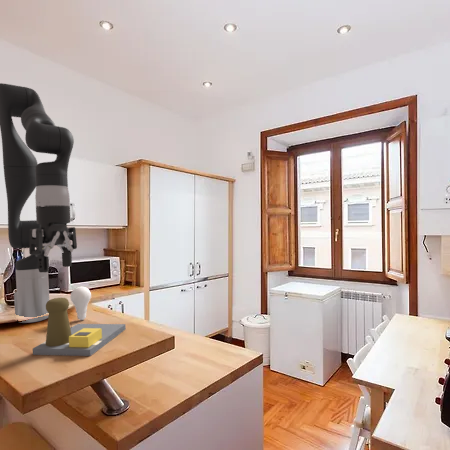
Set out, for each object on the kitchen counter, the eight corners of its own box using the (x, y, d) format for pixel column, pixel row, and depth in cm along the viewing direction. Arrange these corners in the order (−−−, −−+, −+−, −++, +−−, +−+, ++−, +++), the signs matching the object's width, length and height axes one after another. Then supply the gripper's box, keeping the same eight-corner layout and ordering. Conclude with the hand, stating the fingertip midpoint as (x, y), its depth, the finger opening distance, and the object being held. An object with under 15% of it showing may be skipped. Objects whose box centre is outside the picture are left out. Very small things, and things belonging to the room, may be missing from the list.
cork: (42, 342, 78) (40, 299, 78) (67, 335, 83) (65, 294, 83) (50, 348, 74) (48, 302, 74) (76, 340, 79) (74, 297, 79)
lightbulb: (96, 318, 102) (94, 285, 102) (78, 324, 97) (77, 289, 97) (84, 316, 105) (83, 284, 105) (67, 321, 100) (66, 287, 100)
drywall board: (32, 354, 75) (32, 348, 75) (78, 328, 93) (78, 323, 93) (90, 355, 73) (90, 349, 73) (125, 329, 91) (125, 324, 90)
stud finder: (69, 347, 74) (68, 336, 74) (84, 337, 80) (83, 327, 80) (88, 347, 74) (88, 336, 74) (102, 338, 80) (101, 327, 80)
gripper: (58, 206, 86) (61, 265, 86) (17, 204, 72) (20, 274, 72) (83, 205, 85) (86, 264, 85) (46, 202, 70) (49, 274, 71)
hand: (56, 269), depth 78 cm, fingers open, 8 cm apart
